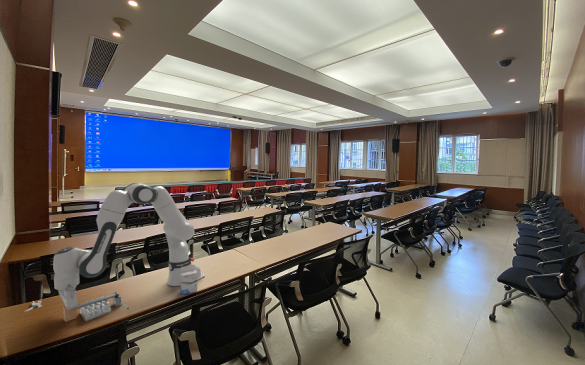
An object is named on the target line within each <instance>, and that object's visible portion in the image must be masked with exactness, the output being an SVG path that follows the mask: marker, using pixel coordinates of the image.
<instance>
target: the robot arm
mask: <svg viewBox="0 0 585 365" xmlns="http://www.w3.org/2000/svg"><path fill="white" fill-rule="evenodd" d="M134 203H135V204H140V205H146V204H151V205H152V207H153V208H154V210H155V212H156V213H157V215H158V217H159V218H160V220H161V221H162V222H163V226H162V227H163V231H164V233H165V237H166V240H167V244H168V251H169V252H168V253H169V254H168V256H169V257H168V258H169V260H168V278H167V282H166V284H167V285H168V286H172V287H178V286H179V287H181V267H185V266H190V265H195V270H196V271H197V281H199V280H201V279H202V278H204V277H205V273H204V272H202V271H201V267H200V266H199V265H197V264H195V263H194V261H195V258H193V257H189V244H188V242H187V241H188V240H190V239H192V238H193V237H194V234H195V228H194V225H192V224H191V223H190V222H189V221H188V219H186V217H185V216H184V215H183V213H182V212H181V211H180V209H179V207H178V206H177V204H176V203H175V201H174V198H173V197H172V196H171V194H170V193H169V191H168V190H167V189H166V188H165V187H164V186H160V185H159V186H155V187H153V186H150V185H148V184H145V183H141V182H139V183H138V182H133V183H130V184H128V185H127V186H125V187H124V188H122V190H120V189H115V190H112V191H110V192H109V193H108V194H107V196H106V197H105V199H104V200H103V202H102V204H101V205H100V209H99V211H98V213H97V216H96V225H97V229H98V230H97V237H96V240H95V241H94V244H93V247H92V249H82V248H79V247H76V246H67V247H64V248H61V249H59V250H58V251H56V253H54V256H53V262H52V265H53V266H52V267H53V271H54V276H53V282H54V283H53V284H54V285H53V286H54V290H57V291H58V295H59V296H60V298H61V300H62V302H63V303H64V306H66V307H67V309H70V308H73V307H76V306H77V305H78V294H77V289H76V288H77V286H78V285H79V284H80V276H82V277H84V278H87V279H90V278H95V277H98V276H99V275H101V274H102V273H103V272H104V271H105V270H106V268H107V264H108V263H107V254H108V252H109V250H110V248H111V245H112V242H113V239H114V237H115V235H116V232H117V230H118V228H119V226H120V224H121V223H122V221H123V219H124V218H125V214H126V212H127V209H128V208H129V206H131V205H132V204H134ZM190 268H191V267H190ZM190 268H189V267H188V268H186V269H190Z"/></svg>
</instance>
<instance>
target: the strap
mask: <svg viewBox="0 0 585 365" xmlns="http://www.w3.org/2000/svg"><path fill="white" fill-rule="evenodd" d="M119 295H120V294H119V293H118V292H116V291H115V292H114V293H112V294H108V295H105V296H103V297H102V296H100V297H97V298H98V299H96V298H95V299H91V300H92V301H91V300H87V301H88V302H87V301H86V302H82V304H81V303H80V304H77V306H76V308H74V309H71V310H70V311H72V310H75V309H76V310H78V309H81V307H85V306H86V307H87V306H88V305H92V304H94V303H97V302H100V301H104V300H107V301H108V300H109V299H113V297H116V296H117V297H119Z"/></svg>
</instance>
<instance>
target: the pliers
mask: <svg viewBox="0 0 585 365" xmlns="http://www.w3.org/2000/svg"><path fill="white" fill-rule="evenodd" d="M32 302H33V303H32ZM32 302H31V307H30V308H28V309H26V310H24V313H25V312H29V311H31V310H34V308H36V307H37V308H40V307H43V305H42V300H41V301H39V300H38V301H37V302H35V301H34V300H33V301H32Z"/></svg>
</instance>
